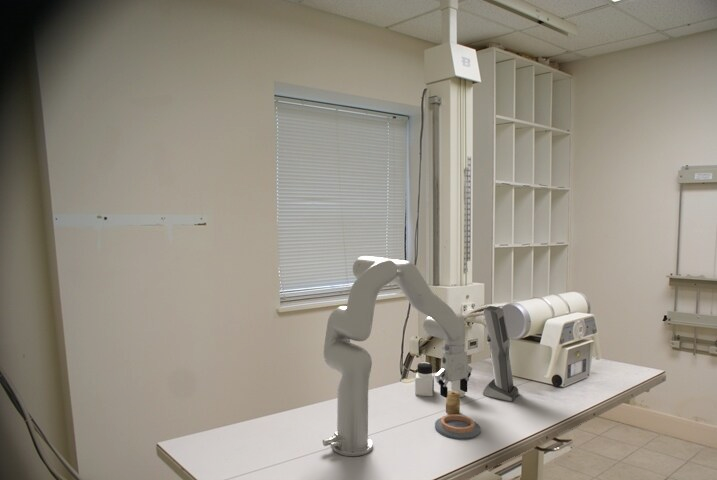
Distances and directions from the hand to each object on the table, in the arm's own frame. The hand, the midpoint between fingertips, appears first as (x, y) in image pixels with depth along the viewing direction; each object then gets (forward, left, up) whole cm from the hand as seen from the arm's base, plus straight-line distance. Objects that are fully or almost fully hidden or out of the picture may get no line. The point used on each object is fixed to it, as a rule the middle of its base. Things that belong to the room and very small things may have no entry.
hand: (453, 393), depth 168 cm
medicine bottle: (+3, +20, -7) cm, 21 cm away
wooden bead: (0, 0, -7) cm, 7 cm away
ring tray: (-8, -11, -7) cm, 16 cm away
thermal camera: (+29, +3, -7) cm, 30 cm away
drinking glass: (+13, +11, -7) cm, 18 cm away
